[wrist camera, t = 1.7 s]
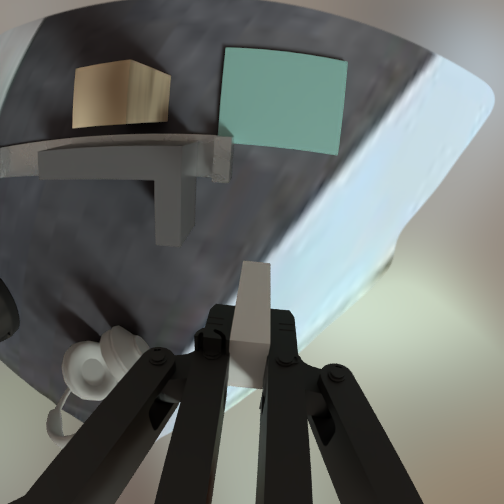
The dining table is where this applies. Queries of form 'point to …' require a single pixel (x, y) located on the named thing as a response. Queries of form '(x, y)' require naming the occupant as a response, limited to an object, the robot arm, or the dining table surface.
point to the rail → (209, 146)
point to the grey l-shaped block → (136, 176)
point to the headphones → (95, 371)
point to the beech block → (120, 94)
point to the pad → (282, 99)
